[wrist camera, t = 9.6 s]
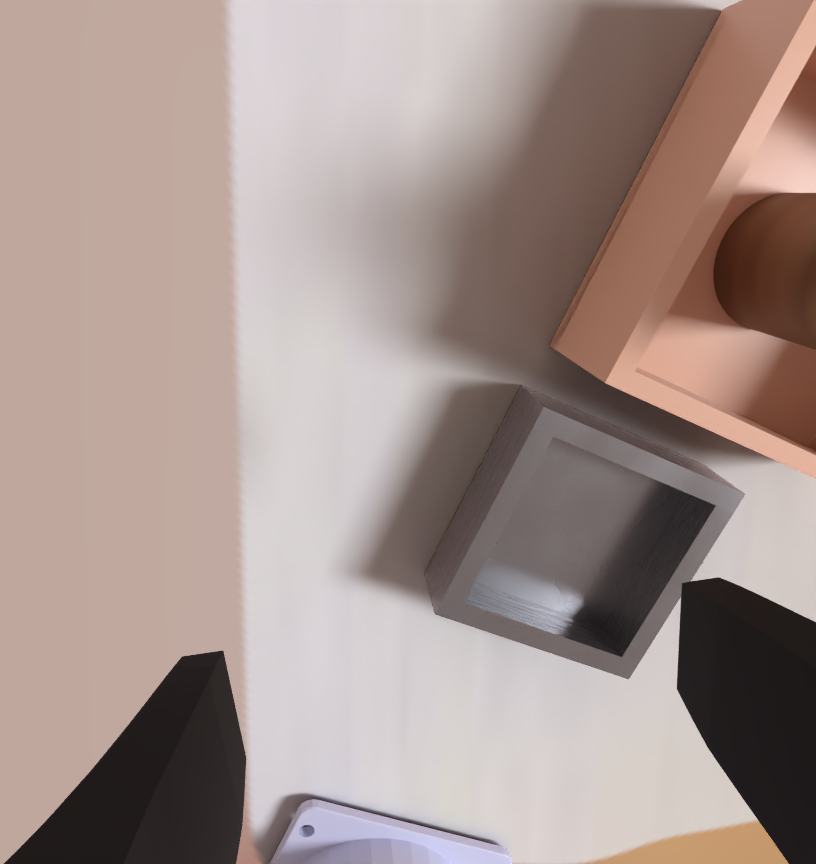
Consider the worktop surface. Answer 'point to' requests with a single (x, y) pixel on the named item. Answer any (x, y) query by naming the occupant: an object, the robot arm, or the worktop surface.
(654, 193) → the terracotta bin
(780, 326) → the walnut strut
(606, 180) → the worktop surface
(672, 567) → the metal socket
